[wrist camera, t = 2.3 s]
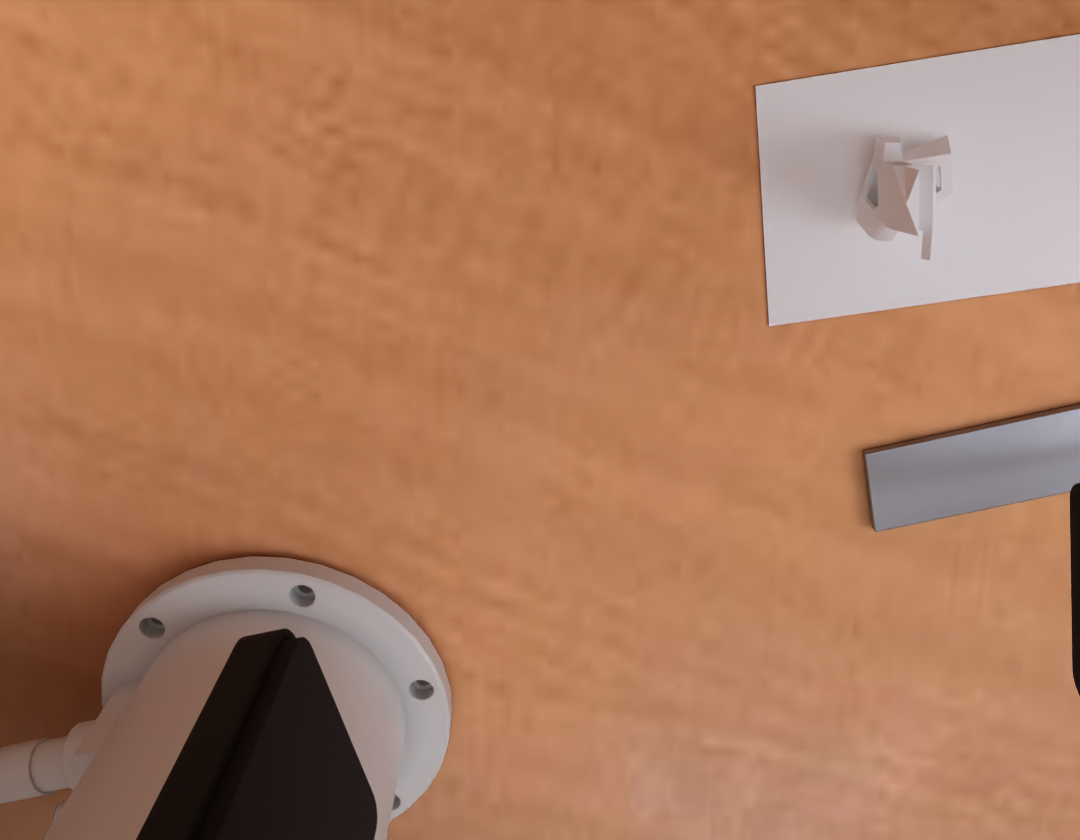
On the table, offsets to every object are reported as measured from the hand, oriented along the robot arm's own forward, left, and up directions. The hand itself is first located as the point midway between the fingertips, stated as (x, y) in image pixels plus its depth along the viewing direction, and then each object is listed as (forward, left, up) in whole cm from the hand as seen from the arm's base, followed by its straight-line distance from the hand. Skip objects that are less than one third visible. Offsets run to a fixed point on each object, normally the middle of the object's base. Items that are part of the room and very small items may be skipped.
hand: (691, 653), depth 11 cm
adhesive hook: (+10, 0, -19) cm, 21 cm away
